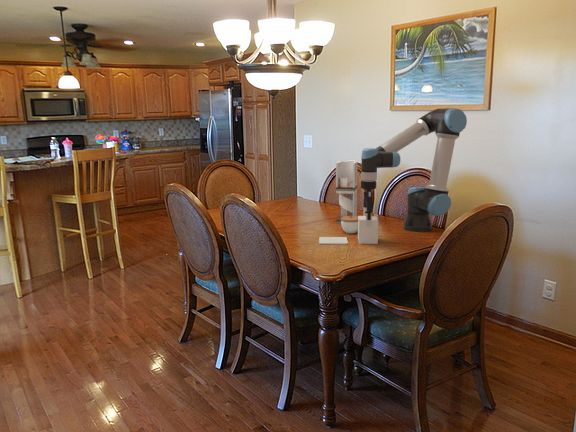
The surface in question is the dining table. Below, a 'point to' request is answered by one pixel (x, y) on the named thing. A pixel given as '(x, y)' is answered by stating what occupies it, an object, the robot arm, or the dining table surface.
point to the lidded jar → (349, 224)
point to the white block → (367, 231)
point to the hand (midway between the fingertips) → (367, 223)
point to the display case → (347, 187)
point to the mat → (333, 241)
